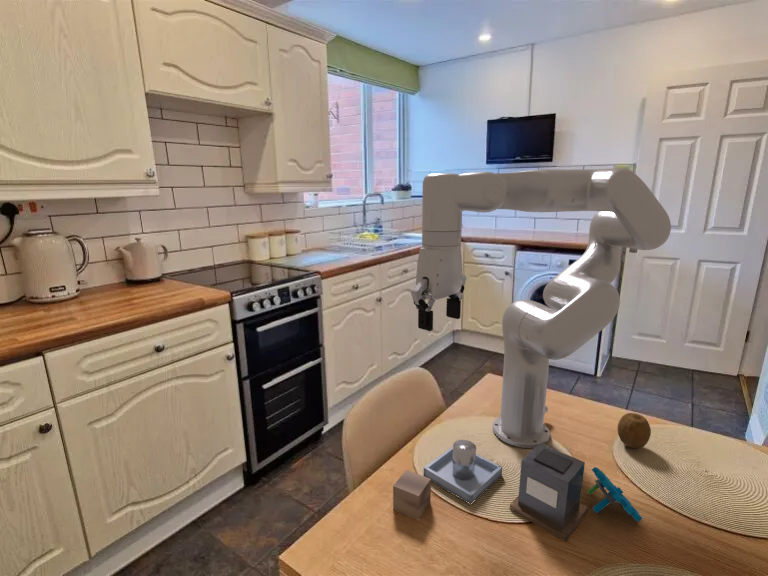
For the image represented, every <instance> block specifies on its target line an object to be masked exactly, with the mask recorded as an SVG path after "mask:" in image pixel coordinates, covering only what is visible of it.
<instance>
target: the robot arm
mask: <svg viewBox="0 0 768 576" xmlns="http://www.w3.org/2000/svg"><path fill="white" fill-rule="evenodd" d="M422 180H423V181H422V201H421V203H422V206H421V207H422V208H421V209H422V216H421V217H422V220H421V221H422V223H421V224H422V225H421V233H422V234H421V243H422V244H421V247H419V252H418V258H417V265H416V278H415V286H414V287H413V289H412V290H411V291H410V294H411V297H412V300H413V304H414V305H415V309H416V310H417V327H418V328H419V329H420V330H425V331H427V332H431V331H434V310H432V309H433V306H434V304H435V302H436V301H437V300H440V299H445V298H446V306H445V307H446V308H445V310H446V312H445V316H446V317H447V318H451V319H455V320H459V319H461V315H462V314H461V312H462V311H461V309H462V300H463V292H464V291H465V285H466V281H467V276H466V275H464V274H463V263H462V262H463V258H462V248H461V247H462V227H463V226H462V223H463V212H464V211H466V212H476V213H490V212H494V211H496V210H509V211H518V212H527V213H554V212H555V213H560V212H561V213H562V212H565V213H566V212H596V213H595V214H594V215H593V217H592V219H591V221H590V224H589V229H588V230H589V231H588V232H589V234H588V241H587V242H588V243H587V247H586V249H585V251H584V252H583V254H582V255H581V256H579V257H578V258H577V259H576V260H575V261H574V262H573V263H570V265H568V266H567V267H566V268H565V269H564V270H562V271H561V272H560V273H558V274H556V276H554V277H553V278H552V279H551V280H550V281H549V282H548V283H547V284H546V285H545V287H544V289H543V291H542V292H543V293H542V299H543V301H544V303H545V304H546V305H545V304H542V303H540V302H539V301H538V302H537V301H535V300H532V299H519V300H516V301H514V302H512V303H510V304H509V305H508V306H507V308H506V309H505V310H504V313H503V316H502V320H501V321H502V322H501V324H502V325H501V326H502V329H501V331H502V337H503V345H504V346H503V347H504V348H503V350H504V354H503V356H504V357H503V368H502V369H503V370H502V373H503V374H502V385H501V386H502V387H501V399H500V400H501V403H500V413H499V414H500V415H499V416H498V417H496V418H495V419H494V421H493V423H492V431H493V433H494V434H496V435H495V436H496V437H497V436H498V437H497V438H498V439H499V438H500V440H501V441H502V442H504V443H506V444H509V445H511V446H513V445H514V447H518V448H523V449H524V448H525V449H534V448H535V447H536V446H537V445H538V444H539V443H541V444H544V445H546V444H547V443H548V442H549V440H550V436H551V435H550V433H551V432H550V430H549V428H548V427H547V426H546V424H545V423H544V421H545V414H546V413H547V412H548V411H549V408H548V406H547V405H546V400H547V388H548V380H549V379H548V377H549V370H550V369H549V368H550V367H549V366H550V360H551V361H557V360H562V359H563V360H564V359H565V358H567V357H569V356H571V355H572V354H574V353H575V352H576V351H578V350H579V349H580V348H582V346H584V345H586V344H587V343H589V341H590V340H591V339H592V338H594V337H595V336H596V335H598V334H599V333H600V332H601V331H603V330H604V329H605V328H606V327H607V326H608V325H609V324H610V323H611V322H612V321H614V318H615V317H616V315H617V313H618V311H619V308H620V304H621V299H620V293H619V291H618V290H617V288H616V287H615V286H613V284H612V283H613V282H614V280H615V279H616V278H617V277H618V275H619V272H620V269H621V248H627V249H628V248H629V249H635V250H640V251H651V250H655V249H658V248H660V247H661V246H663V245H664V244H665V243H666V242H667V240H668V239H669V237H670V235H671V230H672V224H671V223H672V222H671V220H670V217H669V215H668V212H667V211H666V209H665V208H664V207H663V205H662V204H661V202H660V201H659V199H658V198H657V197H656V196H655V195H654V193H653V192H652V190H651V189H650V187H648V185H647V184H646V183H645V182H644V180H643V179H642V178H641V177H639V175H637V174H636V173H635V172H633V171H631V170H630V169H628V168H624V167H617V168H598V169H597V168H596V169H594V168H593V169H588V168H587V169H585V168H584V169H556V168H555V169H550V168H548V169H546V168H545V169H542V168H541V169H532V170H523V171H516V172H501V173H497V172H496V173H495V172H492V171H491V172H490V171H475V172H466V173H465V172H464V173H461V174H458V173H453V172H452V173H451V172H450V173H445V172H444V173H441V172H440V173H429V174H427V175H426V176H424V178H423V179H422ZM426 300H428V301H427V303H426Z"/></svg>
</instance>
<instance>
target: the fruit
mask: <svg viewBox="0 0 768 576" xmlns="http://www.w3.org/2000/svg"><path fill="white" fill-rule="evenodd" d="M651 430H652V429H651V426H650V423H649V421H648V420H647V418H646V417H645V416H644V415H641V414H638V413H634V412H628V413H626V414H623V416H622V417H621V418H620V420H619V421H618V424H617V435H618V437H619V439H620V441H621V442H622V443H623V445H624V446H627V447H629V448H632V449H640V448H641V449H642V448H643V447H645V446H646V445H647V444H648V442H649V440H650V438H651V434H652V432H651Z"/></svg>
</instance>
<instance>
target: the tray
mask: <svg viewBox="0 0 768 576" xmlns="http://www.w3.org/2000/svg"><path fill="white" fill-rule="evenodd" d="M452 460H453V446H451V447H450V448H449V449H447V450H445V451H444V452H443V453H442V454H440V455H439V456H438V457H436V458H435V459H433V460H432V461H431V462H429V463H428V464H426V465H425V466H424V467H423V476H425V477H427V478H430V479H431V483H434V482H435V483H436V485H437V486H439V487H440V486H441V488H442V487H443V488H444V489H443V488H442V489H443V490H445V489H446V491H447V490H448V491H450V492H452V493H453V494H455V495H457V496H459V497H460V498H462V499H463V500H465V501H467V502H469V503H470V504H471V503H472V502H473V501H474V500H476V499H477V498H478V497H479V496H480V495H481V494H482V493H483V492H484V493H485V492H486V491H487V490H488V489H489V488H490V487H492V486H493V485H494V484H495V483H496V482H497V481H498V480H499V479H500V478H502V476H503V466H501V465H499V464H497V463H495V462H493V461H491V460H490V459H487V458H485V457H483V456H481V455H480V454H478V453H476V458H475V473H474V477H473V478H472V479H471V480H467V481H463V480H459V479H457V478H455V477H454V476H453V474H452ZM498 478H499V479H498ZM497 479H498V480H497ZM496 480H497V481H496ZM495 481H496V482H495ZM494 482H495V483H494ZM435 483H434V484H435ZM493 483H494V484H493ZM492 484H493V485H492ZM491 485H492V486H491ZM486 489H487V490H486ZM448 491H447V492H448ZM450 492H449V493H450ZM452 493H451V494H452ZM484 493H483V494H484ZM453 494H452V495H453ZM483 494H482V495H483ZM455 495H454V496H455ZM482 495H481V496H482ZM457 496H456V497H457ZM481 496H480V497H481ZM480 497H479V498H480ZM460 498H459V499H460ZM479 498H478V499H479ZM478 499H477V500H478ZM463 500H462V501H463ZM477 500H476V501H477ZM465 501H464V502H465ZM470 504H469V505H470ZM472 504H473V503H472ZM472 504H471V505H472Z"/></svg>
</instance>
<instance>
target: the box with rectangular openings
mask: <svg viewBox="0 0 768 576" xmlns="http://www.w3.org/2000/svg"><path fill="white" fill-rule="evenodd" d="M585 463H586V462H585V461H582V460H580V459H579V458H577V457H573V456H571V455H569V454H566V453H564V452H562V451H559V450H558V449H555V448H553V447H550V446H548V445H546V444H545V445H544V444H541V443H539V444H538V445H537V446H536V447H535V448H532V449H531V451H530V452H528V453H527V454H526V455H525V456H524V457H523V458H522V459H521V462H520V475H519V487H518V489H519V490H518V495H517V497H515V498H514V500H512V502H511V503H510V504H509V510H510V509H511V510H510V511H512V510H513V511H514V512H513V511H512V512H513V513H515V512H516V514H517V515H519V516H520V515H521V516H520V517H521V518H524V519H525V520H527V519H528V520H527V521H530V522H531V523H533V524H534V525H537V526H538V527H539V528H541V529H543V530H545V531H547V532H549V533H550V534H552V535H553V536H555V537H557V538H558V539H561V540H562V541H564V542H568V540H569V539H570V537H571V536H572V535H573V533H574V531H575V530H576V528H577V527H578V525H579V524H580V523H581V521H582V520H583V518H584V517H585V515H586V514H587V512H588V506H586V505H585V504H583V503H581V497H582V490H583V489H582V488H583V480H584V475H585Z"/></svg>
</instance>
